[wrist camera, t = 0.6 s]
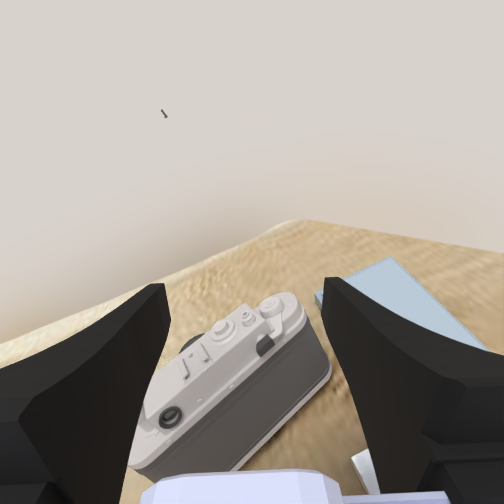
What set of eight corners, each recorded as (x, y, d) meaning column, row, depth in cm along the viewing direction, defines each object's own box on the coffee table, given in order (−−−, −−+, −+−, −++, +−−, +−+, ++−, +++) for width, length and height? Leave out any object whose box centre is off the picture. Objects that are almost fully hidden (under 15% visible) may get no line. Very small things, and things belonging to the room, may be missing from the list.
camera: (348, 375, 23) (305, 285, 18) (190, 536, 18) (85, 467, 14) (286, 326, 31) (246, 255, 26) (166, 430, 26) (95, 365, 22)
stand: (491, 370, 21) (505, 361, 20) (393, 422, 21) (398, 417, 19) (388, 266, 29) (391, 252, 28) (315, 302, 29) (313, 290, 27)
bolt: (160, 109, 162) (159, 112, 161) (163, 109, 161) (162, 111, 160) (165, 116, 166) (164, 118, 165) (168, 115, 165) (167, 118, 164)
